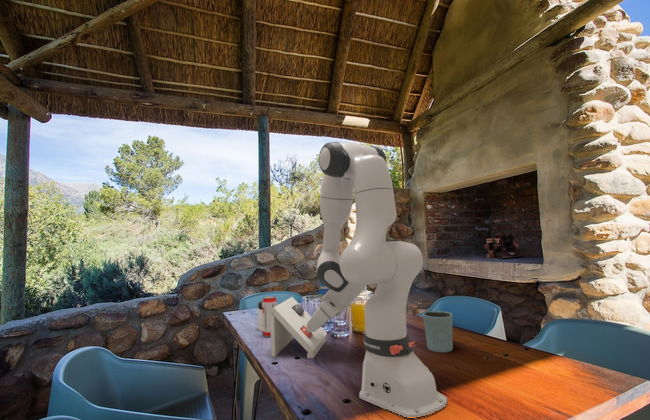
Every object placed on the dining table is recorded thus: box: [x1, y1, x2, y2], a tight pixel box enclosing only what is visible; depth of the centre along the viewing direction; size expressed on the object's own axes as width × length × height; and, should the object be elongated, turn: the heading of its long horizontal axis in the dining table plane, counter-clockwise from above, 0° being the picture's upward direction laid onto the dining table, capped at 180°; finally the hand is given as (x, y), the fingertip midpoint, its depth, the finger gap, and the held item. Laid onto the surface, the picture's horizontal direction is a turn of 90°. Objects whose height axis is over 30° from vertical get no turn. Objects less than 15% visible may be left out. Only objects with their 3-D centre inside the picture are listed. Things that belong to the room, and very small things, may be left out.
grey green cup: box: [422, 310, 454, 353], centre depth 121 cm, size 10×10×12 cm
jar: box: [256, 300, 263, 333], centre depth 153 cm, size 9×8×12 cm
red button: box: [300, 326, 312, 338], centre depth 122 cm, size 5×4×5 cm
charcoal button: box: [293, 303, 305, 316], centre depth 131 cm, size 5×4×5 cm
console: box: [270, 296, 328, 359], centre depth 126 cm, size 16×20×17 cm
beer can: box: [262, 295, 278, 338], centre depth 143 cm, size 6×6×16 cm
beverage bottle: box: [317, 280, 329, 298], centre depth 163 cm, size 8×8×20 cm
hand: (308, 330), depth 121 cm, fingers closed, pressing on red button
